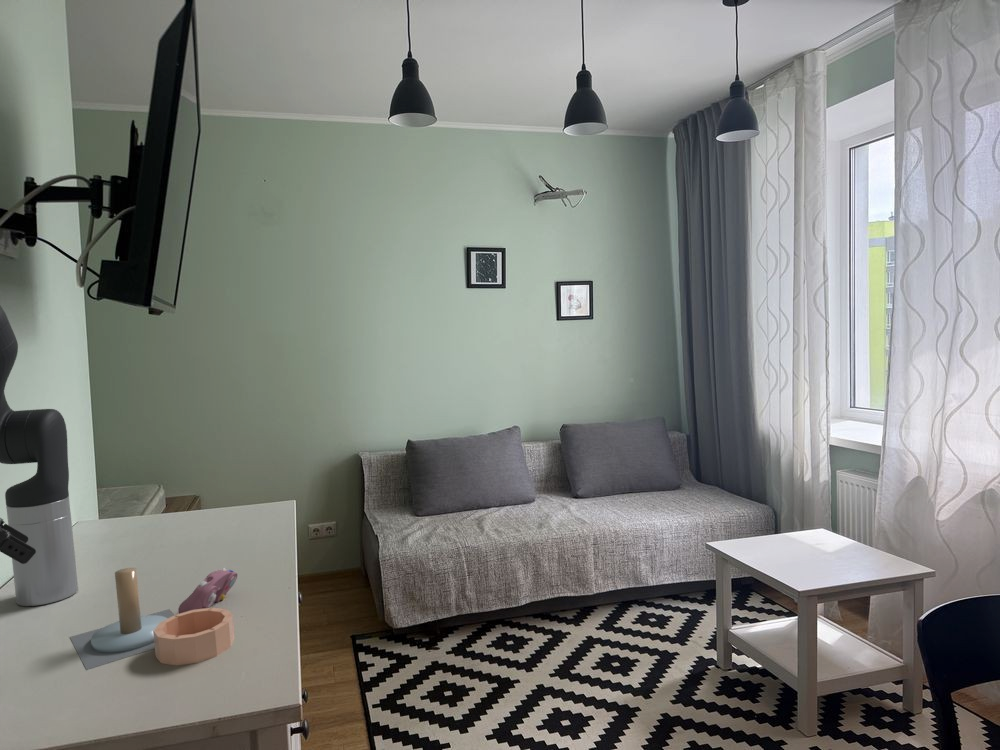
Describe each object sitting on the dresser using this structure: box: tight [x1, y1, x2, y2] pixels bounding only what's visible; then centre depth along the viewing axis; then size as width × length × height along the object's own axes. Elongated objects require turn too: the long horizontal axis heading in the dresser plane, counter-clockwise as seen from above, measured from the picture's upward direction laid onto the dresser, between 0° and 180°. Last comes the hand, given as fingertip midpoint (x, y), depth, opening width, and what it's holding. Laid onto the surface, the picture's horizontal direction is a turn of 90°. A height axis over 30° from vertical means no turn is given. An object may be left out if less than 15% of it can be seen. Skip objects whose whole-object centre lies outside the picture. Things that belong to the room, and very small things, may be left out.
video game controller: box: [177, 567, 238, 614], centre depth 115 cm, size 10×5×7 cm, turn 170°
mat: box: [69, 608, 175, 671], centre depth 104 cm, size 14×14×1 cm
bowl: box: [153, 607, 236, 666], centre depth 99 cm, size 10×10×4 cm
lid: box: [91, 567, 168, 653], centre depth 104 cm, size 10×10×10 cm
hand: (27, 550), depth 95 cm, fingers open, 8 cm apart
